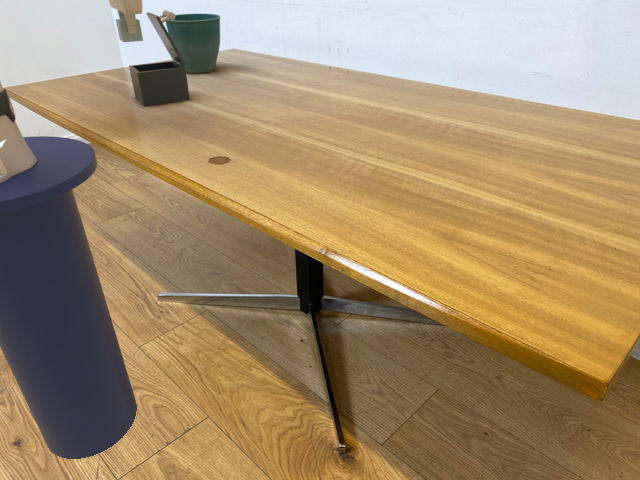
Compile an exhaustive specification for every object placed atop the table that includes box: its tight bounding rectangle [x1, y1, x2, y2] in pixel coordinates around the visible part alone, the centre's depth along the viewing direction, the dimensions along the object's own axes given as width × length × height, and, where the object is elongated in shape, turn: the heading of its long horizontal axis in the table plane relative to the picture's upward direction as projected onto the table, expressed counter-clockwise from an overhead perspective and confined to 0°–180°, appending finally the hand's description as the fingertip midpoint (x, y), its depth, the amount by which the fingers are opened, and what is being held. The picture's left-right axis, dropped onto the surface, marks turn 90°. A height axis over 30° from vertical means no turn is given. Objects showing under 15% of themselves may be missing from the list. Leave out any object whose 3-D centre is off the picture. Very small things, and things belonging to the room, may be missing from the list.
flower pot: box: [165, 13, 221, 74], centre depth 164 cm, size 18×18×17 cm
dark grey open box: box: [128, 60, 191, 108], centre depth 134 cm, size 13×11×9 cm
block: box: [115, 18, 144, 43], centre depth 114 cm, size 4×4×4 cm
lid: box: [145, 10, 186, 66], centre depth 130 cm, size 13×11×5 cm
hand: (129, 31), depth 114 cm, fingers closed on block, 4 cm apart
